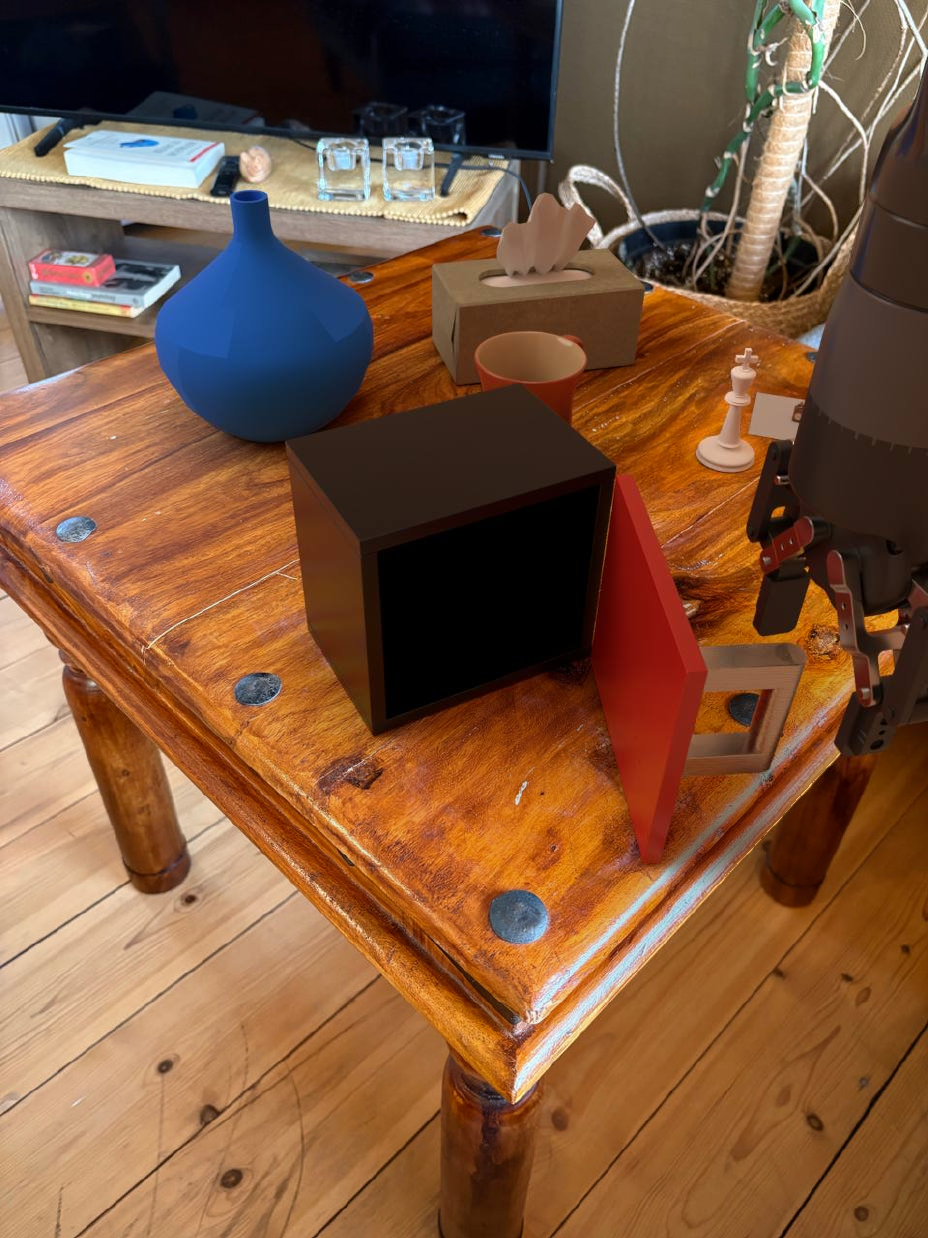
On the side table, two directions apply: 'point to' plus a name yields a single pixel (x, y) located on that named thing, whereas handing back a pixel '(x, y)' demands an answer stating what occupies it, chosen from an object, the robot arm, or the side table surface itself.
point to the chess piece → (732, 424)
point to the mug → (534, 366)
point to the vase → (264, 336)
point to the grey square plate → (776, 416)
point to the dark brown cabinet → (449, 549)
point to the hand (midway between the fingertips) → (811, 685)
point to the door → (673, 679)
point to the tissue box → (538, 293)
